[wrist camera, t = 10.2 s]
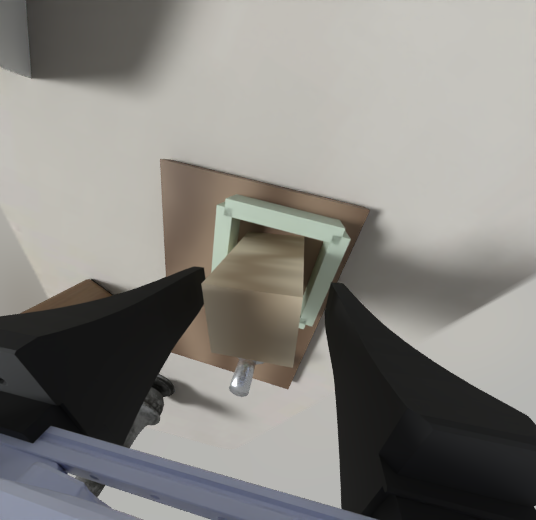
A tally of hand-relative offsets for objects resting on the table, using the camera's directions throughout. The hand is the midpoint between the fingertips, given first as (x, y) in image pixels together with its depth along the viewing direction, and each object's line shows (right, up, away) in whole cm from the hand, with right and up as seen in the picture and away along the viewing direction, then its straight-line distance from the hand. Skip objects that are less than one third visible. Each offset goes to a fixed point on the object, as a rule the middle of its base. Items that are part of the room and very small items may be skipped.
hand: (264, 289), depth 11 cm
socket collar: (+1, +2, +4) cm, 4 cm away
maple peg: (+1, +2, +4) cm, 4 cm away
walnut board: (-2, -2, +7) cm, 7 cm away
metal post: (-1, -7, +8) cm, 11 cm away
